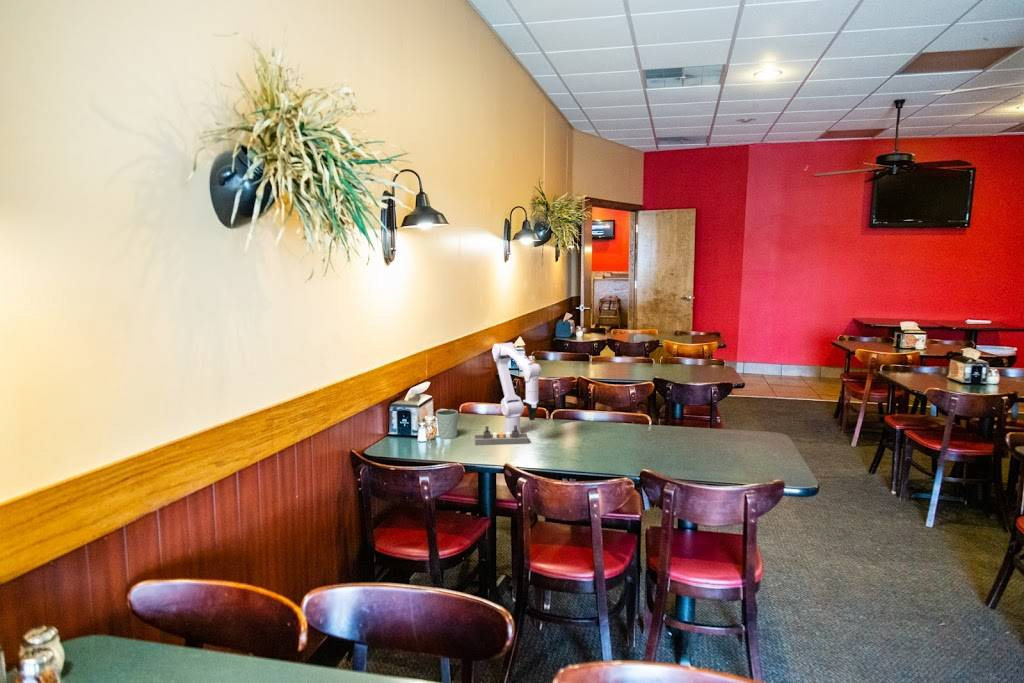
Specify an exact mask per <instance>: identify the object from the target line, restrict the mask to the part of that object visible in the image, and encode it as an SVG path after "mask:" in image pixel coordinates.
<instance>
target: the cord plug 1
mask: <svg viewBox="0 0 1024 683" xmlns="http://www.w3.org/2000/svg"><path fill="white" fill-rule="evenodd" d="M489 427H490V426H487V425H486V426H485V431H483V435H484V438H491V435H492V434H491V431H489Z"/></svg>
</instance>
